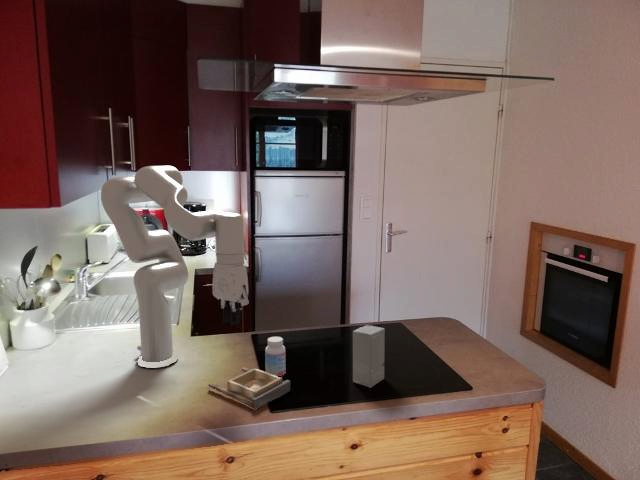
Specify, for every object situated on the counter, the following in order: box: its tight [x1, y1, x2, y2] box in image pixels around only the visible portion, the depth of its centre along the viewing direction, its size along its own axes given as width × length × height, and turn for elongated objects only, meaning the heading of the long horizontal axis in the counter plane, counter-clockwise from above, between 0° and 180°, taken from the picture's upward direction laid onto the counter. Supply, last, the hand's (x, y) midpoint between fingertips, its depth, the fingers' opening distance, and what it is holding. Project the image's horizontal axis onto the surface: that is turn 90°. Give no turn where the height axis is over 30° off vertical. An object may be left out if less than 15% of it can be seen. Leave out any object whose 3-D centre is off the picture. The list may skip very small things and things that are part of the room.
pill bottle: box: [264, 336, 287, 377], centre depth 152 cm, size 6×6×11 cm
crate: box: [227, 367, 283, 399], centre depth 140 cm, size 11×11×4 cm
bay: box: [207, 366, 291, 409], centre depth 142 cm, size 18×14×4 cm
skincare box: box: [352, 324, 386, 389], centre depth 149 cm, size 8×7×16 cm
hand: (231, 322), depth 143 cm, fingers closed
